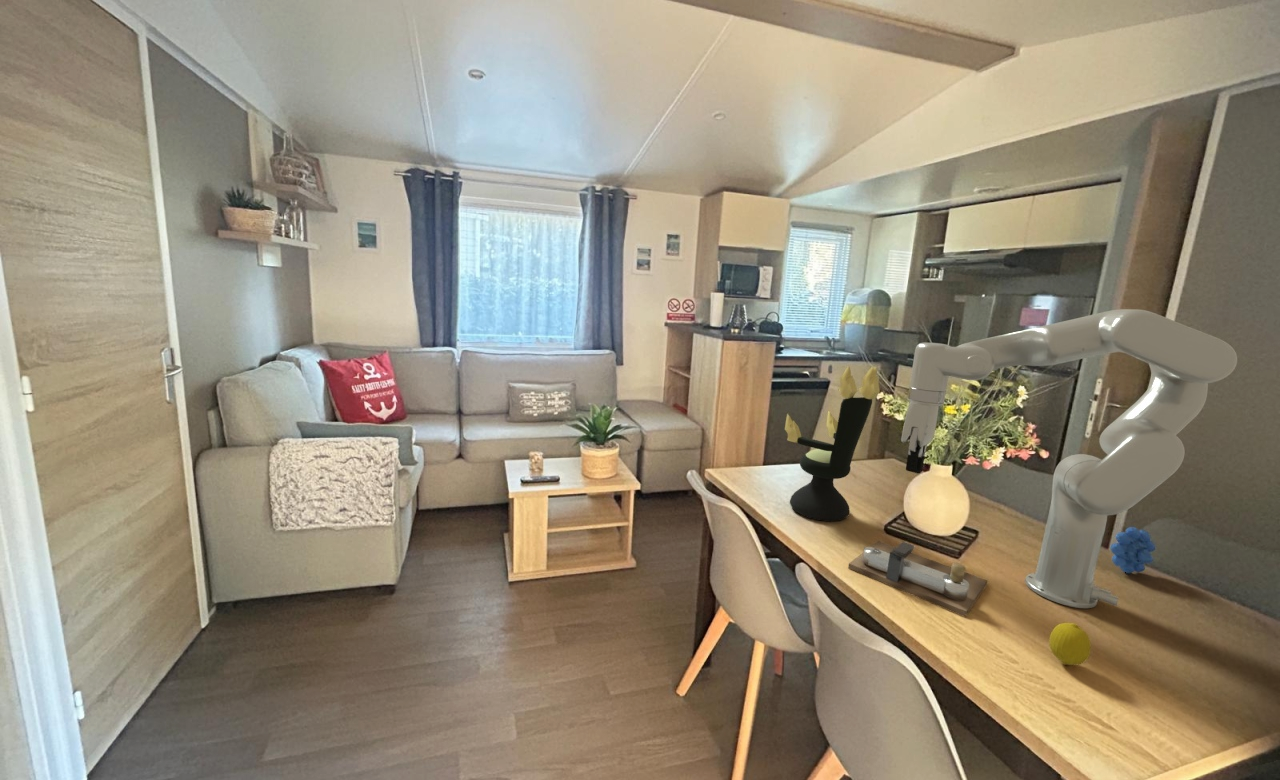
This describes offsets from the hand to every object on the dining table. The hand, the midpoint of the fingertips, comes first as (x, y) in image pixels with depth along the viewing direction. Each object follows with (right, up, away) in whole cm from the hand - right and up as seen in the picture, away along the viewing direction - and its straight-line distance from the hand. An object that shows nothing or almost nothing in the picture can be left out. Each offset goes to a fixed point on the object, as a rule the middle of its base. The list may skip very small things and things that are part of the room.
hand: (913, 471), depth 124 cm
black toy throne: (-11, -17, +28) cm, 34 cm away
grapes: (+54, -26, +2) cm, 60 cm away
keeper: (-7, -22, -7) cm, 24 cm away
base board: (-2, -23, -5) cm, 24 cm away
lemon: (+10, -29, -32) cm, 45 cm away
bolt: (-5, -22, -9) cm, 25 cm away
